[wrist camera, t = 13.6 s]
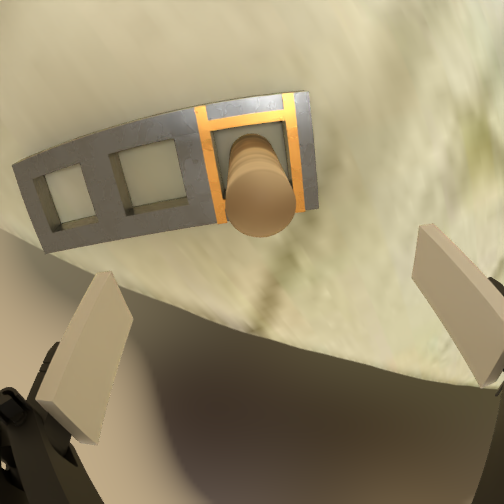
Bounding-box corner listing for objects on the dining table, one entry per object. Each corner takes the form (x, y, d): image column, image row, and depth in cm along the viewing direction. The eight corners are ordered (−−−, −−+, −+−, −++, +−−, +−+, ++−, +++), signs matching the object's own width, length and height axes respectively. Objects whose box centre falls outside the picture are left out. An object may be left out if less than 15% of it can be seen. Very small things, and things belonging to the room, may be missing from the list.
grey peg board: (23, 158, 30) (10, 165, 27) (303, 90, 28) (309, 91, 26) (53, 244, 36) (44, 255, 33) (313, 199, 34) (319, 209, 32)
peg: (227, 137, 31) (219, 177, 19) (270, 130, 30) (292, 167, 18) (233, 177, 33) (231, 241, 21) (275, 171, 33) (298, 232, 21)
